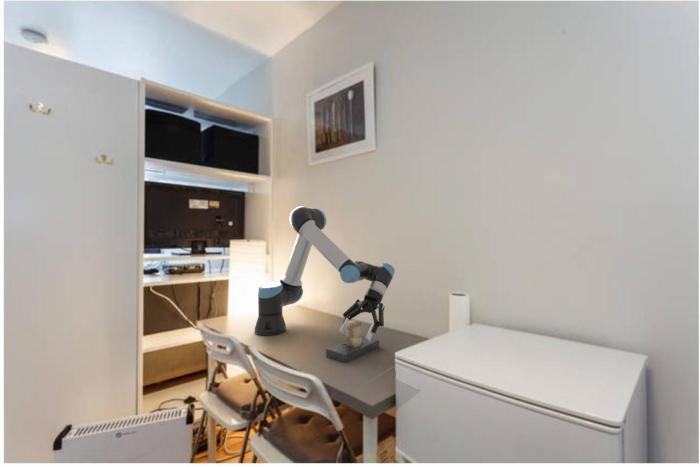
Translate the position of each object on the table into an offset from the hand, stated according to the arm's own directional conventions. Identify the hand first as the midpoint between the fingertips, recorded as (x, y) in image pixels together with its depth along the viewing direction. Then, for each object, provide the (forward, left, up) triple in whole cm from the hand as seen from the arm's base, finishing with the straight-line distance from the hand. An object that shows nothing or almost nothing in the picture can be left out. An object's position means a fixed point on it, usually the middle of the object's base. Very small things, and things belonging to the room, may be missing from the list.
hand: (354, 336), depth 128 cm
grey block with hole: (0, 0, -6) cm, 6 cm away
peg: (0, 0, -6) cm, 6 cm away
